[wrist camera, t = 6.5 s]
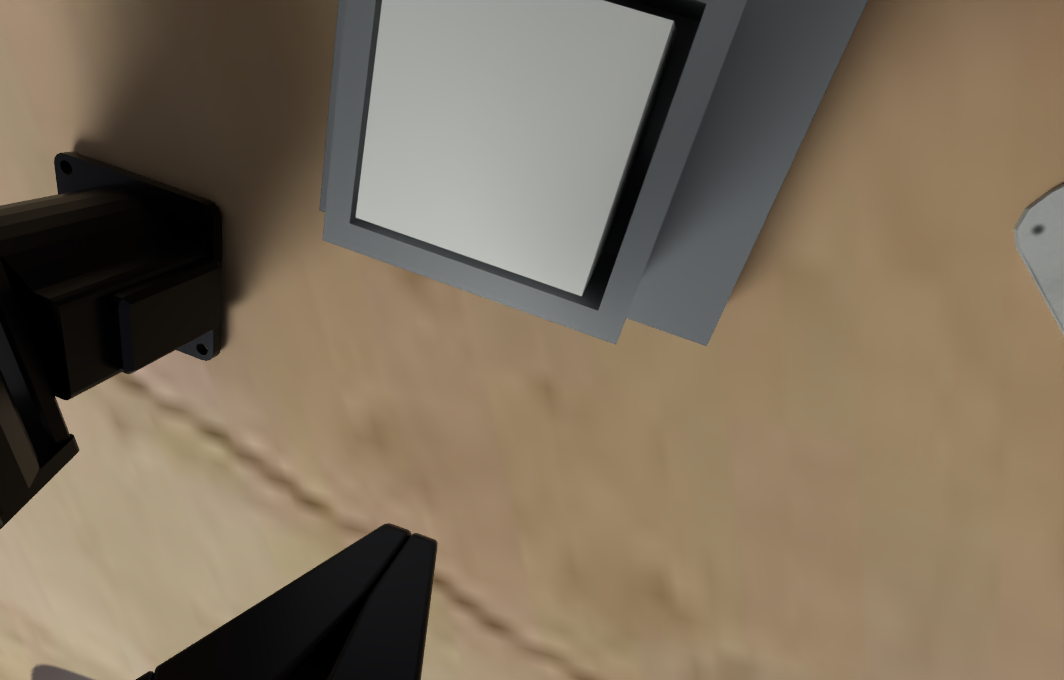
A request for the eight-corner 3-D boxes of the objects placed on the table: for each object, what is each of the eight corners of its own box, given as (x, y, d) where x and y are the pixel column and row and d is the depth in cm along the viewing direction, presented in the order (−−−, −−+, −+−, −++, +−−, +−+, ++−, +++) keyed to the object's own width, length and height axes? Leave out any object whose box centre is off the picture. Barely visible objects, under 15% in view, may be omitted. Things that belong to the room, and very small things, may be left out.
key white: (415, 191, 15) (355, 217, 12) (454, -34, 12) (389, -63, 10) (602, 254, 14) (581, 296, 12) (677, 32, 12) (673, 21, 9)
